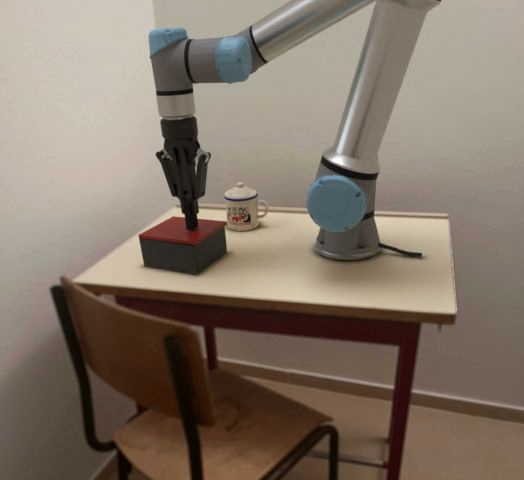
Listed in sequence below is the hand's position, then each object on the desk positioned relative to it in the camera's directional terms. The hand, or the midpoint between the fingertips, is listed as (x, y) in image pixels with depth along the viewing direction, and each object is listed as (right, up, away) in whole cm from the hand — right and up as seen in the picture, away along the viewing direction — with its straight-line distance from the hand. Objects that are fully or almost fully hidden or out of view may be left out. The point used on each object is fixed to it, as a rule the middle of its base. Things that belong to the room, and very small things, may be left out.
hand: (192, 227), depth 118 cm
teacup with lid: (+12, +6, +24) cm, 27 cm away
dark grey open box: (-2, -6, +6) cm, 9 cm away
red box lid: (-2, 0, +2) cm, 3 cm away
